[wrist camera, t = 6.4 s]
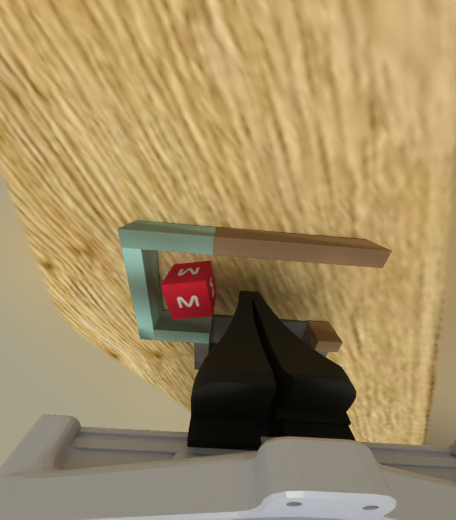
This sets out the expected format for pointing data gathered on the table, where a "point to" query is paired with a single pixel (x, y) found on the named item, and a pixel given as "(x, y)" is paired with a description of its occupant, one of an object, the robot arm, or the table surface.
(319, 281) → the table surface
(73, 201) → the table surface
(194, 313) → the red letter block
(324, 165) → the table surface
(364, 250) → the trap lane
